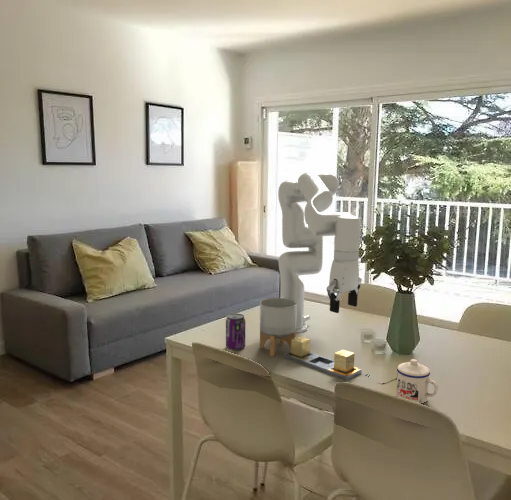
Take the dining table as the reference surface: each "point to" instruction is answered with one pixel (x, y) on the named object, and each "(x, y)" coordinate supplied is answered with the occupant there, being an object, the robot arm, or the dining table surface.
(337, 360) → the brass block
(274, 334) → the planter
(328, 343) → the dining table surface
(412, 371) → the teacup with lid
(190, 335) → the dining table surface
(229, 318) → the beverage can
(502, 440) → the dining table surface
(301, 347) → the brass block
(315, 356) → the gray slotted tray
